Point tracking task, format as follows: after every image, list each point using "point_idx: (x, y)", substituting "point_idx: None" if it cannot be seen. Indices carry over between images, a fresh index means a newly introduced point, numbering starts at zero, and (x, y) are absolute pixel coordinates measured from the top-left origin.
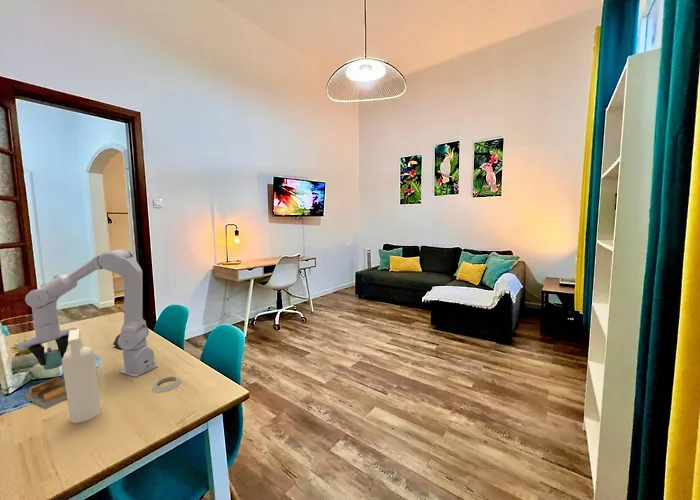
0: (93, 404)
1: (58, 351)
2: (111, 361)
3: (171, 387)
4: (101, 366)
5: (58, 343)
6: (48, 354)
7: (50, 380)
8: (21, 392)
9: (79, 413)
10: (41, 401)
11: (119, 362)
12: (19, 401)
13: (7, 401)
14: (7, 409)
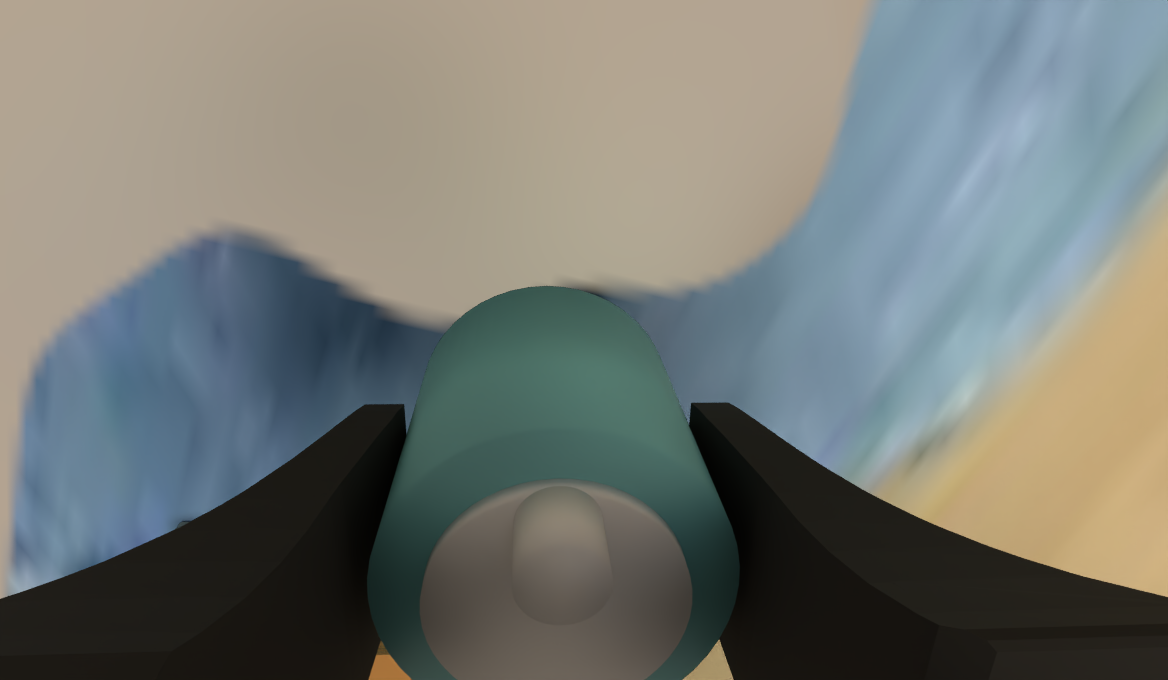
0: None
1: (655, 674)
2: (1079, 448)
3: None
4: (944, 474)
5: (821, 677)
6: (459, 668)
7: (370, 675)
8: (189, 297)
9: None
10: None
11: (1063, 558)
12: (130, 513)
13: (40, 395)
14: (22, 578)
